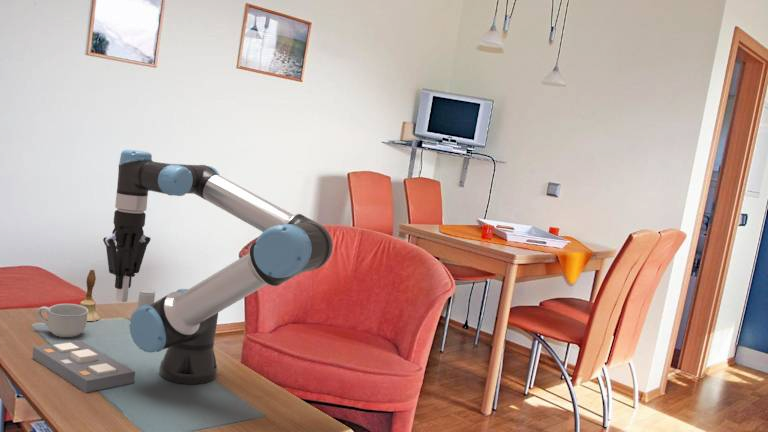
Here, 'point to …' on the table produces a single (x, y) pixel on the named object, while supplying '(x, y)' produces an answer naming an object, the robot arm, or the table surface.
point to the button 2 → (102, 369)
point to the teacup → (65, 319)
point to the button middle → (83, 356)
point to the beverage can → (146, 297)
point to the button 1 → (66, 347)
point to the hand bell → (88, 302)
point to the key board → (83, 368)
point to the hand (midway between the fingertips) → (121, 300)
